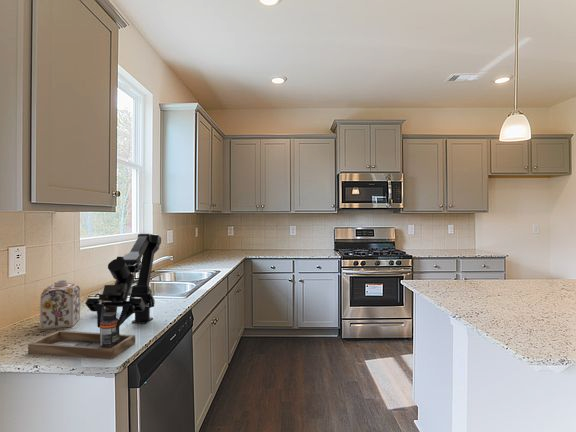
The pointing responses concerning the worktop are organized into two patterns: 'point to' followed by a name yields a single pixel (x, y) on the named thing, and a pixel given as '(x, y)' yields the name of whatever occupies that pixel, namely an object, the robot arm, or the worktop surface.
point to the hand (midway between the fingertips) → (107, 327)
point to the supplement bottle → (109, 330)
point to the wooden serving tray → (79, 345)
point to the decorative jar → (60, 305)
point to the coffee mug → (103, 298)
